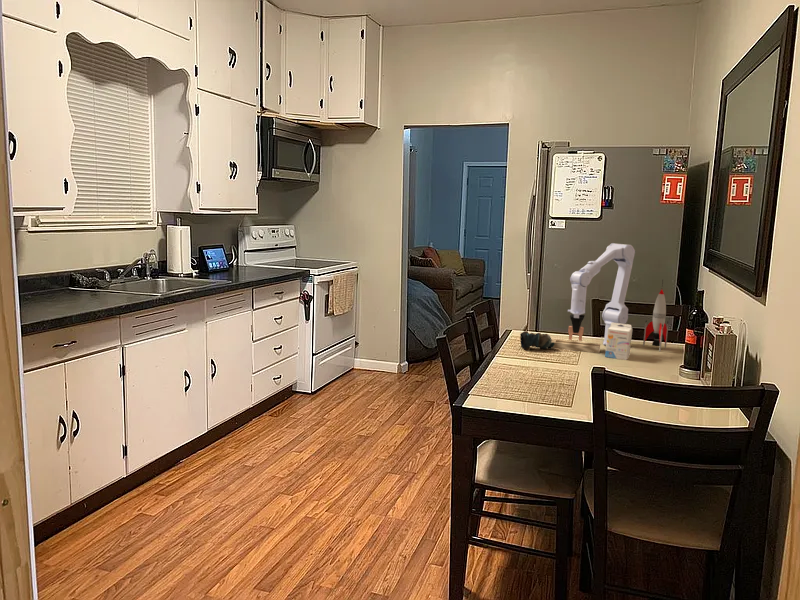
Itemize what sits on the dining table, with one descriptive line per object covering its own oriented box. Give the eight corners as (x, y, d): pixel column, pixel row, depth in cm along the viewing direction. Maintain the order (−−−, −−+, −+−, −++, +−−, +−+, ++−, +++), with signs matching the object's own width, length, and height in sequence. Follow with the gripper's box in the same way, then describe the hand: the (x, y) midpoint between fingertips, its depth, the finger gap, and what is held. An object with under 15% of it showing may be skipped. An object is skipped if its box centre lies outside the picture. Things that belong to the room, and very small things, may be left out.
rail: (599, 349, 258) (600, 343, 258) (599, 353, 251) (599, 347, 251) (551, 344, 264) (551, 338, 264) (549, 347, 258) (550, 342, 258)
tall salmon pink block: (582, 339, 257) (583, 327, 256) (582, 340, 255) (583, 328, 255) (568, 338, 259) (569, 325, 258) (567, 339, 257) (568, 326, 257)
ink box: (604, 357, 245) (607, 324, 243) (608, 352, 253) (610, 321, 250) (627, 360, 241) (630, 326, 239) (630, 355, 249) (633, 323, 247)
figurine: (516, 332, 260) (551, 329, 259) (518, 351, 259) (553, 349, 258) (519, 330, 251) (555, 328, 250) (521, 351, 250) (558, 348, 249)
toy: (665, 347, 266) (672, 279, 261) (671, 352, 258) (679, 281, 253) (642, 346, 267) (648, 278, 262) (648, 350, 258) (655, 280, 254)
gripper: (569, 297, 263) (567, 328, 265) (567, 301, 249) (564, 334, 251) (587, 298, 261) (584, 329, 263) (585, 303, 247) (582, 336, 249)
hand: (576, 332), depth 257 cm, fingers closed on tall salmon pink block, 2 cm apart
